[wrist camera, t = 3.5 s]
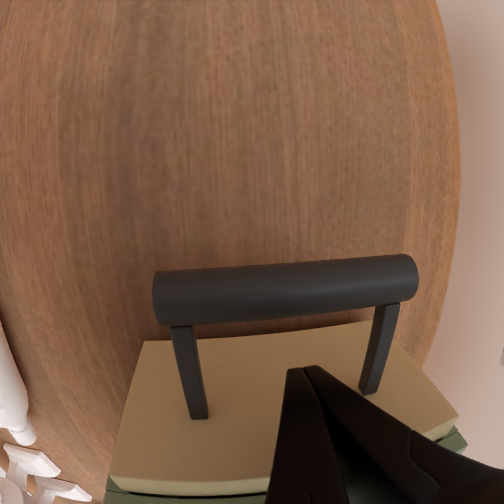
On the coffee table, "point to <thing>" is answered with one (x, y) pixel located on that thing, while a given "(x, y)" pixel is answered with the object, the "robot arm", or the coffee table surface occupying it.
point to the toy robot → (35, 463)
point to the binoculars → (13, 398)
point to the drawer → (261, 370)
